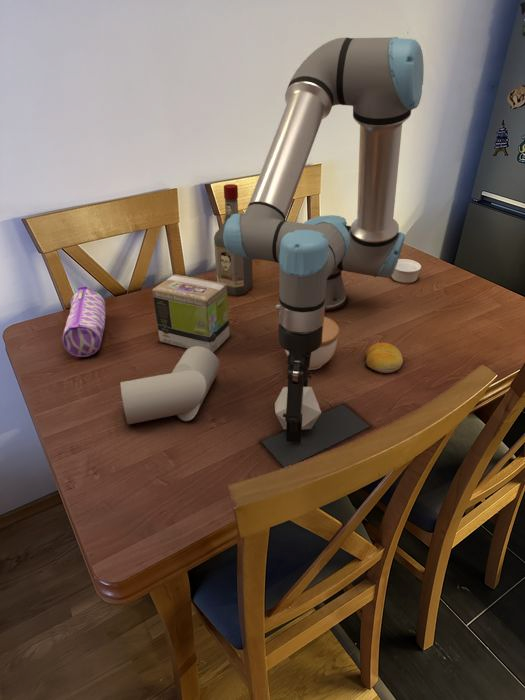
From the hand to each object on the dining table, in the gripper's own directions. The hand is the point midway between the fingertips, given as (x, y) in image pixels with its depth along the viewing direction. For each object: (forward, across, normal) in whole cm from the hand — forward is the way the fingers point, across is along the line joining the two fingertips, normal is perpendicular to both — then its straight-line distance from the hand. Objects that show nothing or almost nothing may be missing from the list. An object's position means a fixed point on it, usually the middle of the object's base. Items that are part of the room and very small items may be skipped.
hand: (296, 422), depth 95 cm
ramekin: (+1, -72, +25) cm, 76 cm away
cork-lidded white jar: (+1, -22, 0) cm, 23 cm away
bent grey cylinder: (+1, -2, -27) cm, 27 cm away
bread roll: (+1, -25, +17) cm, 30 cm away
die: (+1, 0, 0) cm, 1 cm away
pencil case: (+1, -24, -56) cm, 61 cm away
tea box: (+1, -27, -29) cm, 40 cm away
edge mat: (+1, +2, +4) cm, 5 cm away
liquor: (+1, -56, -25) cm, 62 cm away
